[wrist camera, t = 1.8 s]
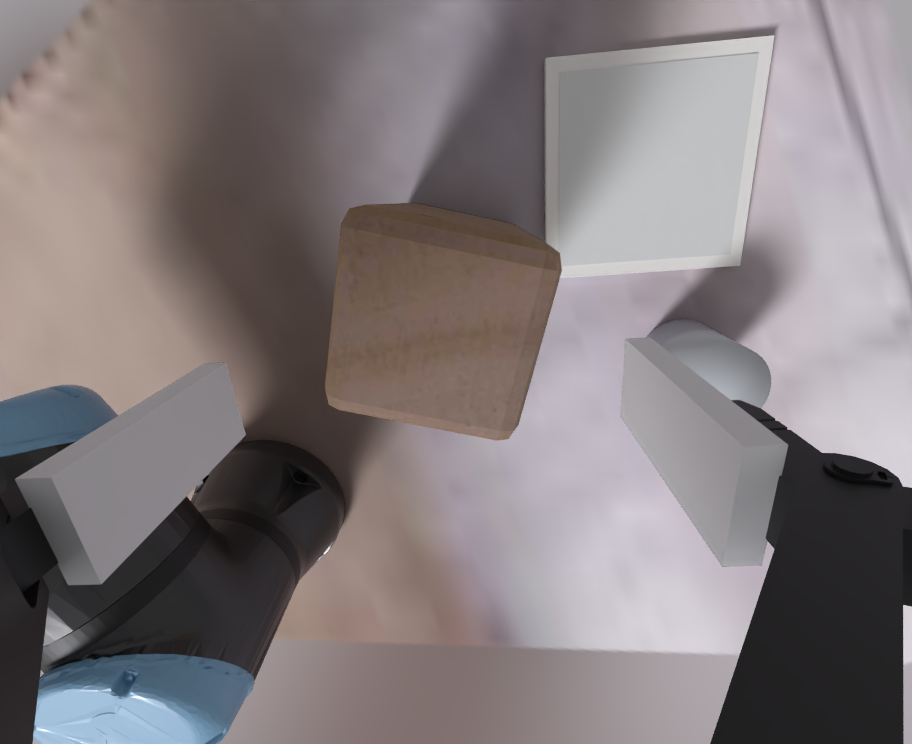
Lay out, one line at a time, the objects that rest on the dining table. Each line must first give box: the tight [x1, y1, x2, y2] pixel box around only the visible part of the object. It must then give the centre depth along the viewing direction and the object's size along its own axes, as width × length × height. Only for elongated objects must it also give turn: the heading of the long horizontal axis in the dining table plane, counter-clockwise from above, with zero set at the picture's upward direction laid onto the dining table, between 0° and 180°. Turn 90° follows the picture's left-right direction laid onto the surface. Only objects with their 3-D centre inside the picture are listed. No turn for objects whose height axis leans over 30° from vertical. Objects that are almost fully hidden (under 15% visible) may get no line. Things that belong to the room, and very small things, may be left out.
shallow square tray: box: [544, 35, 775, 278], centre depth 35 cm, size 16×16×1 cm
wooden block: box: [325, 203, 562, 440], centre depth 30 cm, size 10×10×20 cm
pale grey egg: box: [646, 319, 771, 408], centre depth 37 cm, size 7×7×8 cm
